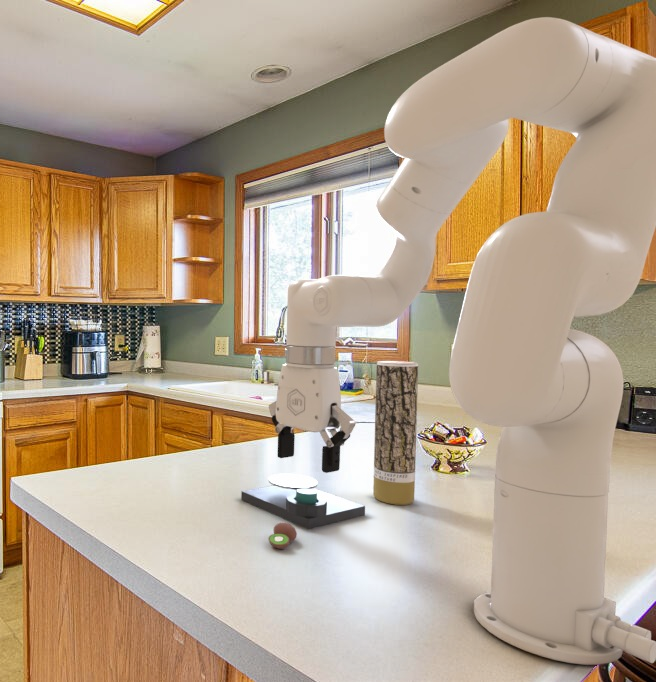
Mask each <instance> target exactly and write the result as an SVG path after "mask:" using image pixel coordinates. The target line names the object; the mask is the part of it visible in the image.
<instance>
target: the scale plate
mask: <svg viewBox="0 0 656 682" xmlns="http://www.w3.org/2000/svg"><path fill="white" fill-rule="evenodd" d="M268 483H269V484H270V485H271V486H273V485H274V486H277V487H281V488H286V489H294V490H297V489H301V488H306V489H312V488H315V489H316V488H317V486H318V481H317V480H316V479H315V478H313V477H310V476H305V475H302V474H293V473H279V474H273V475H270V476H269V477H268Z"/></svg>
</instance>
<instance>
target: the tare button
mask: <svg viewBox="0 0 656 682" xmlns="http://www.w3.org/2000/svg"><path fill="white" fill-rule="evenodd" d="M296 501H298V502H300V503H306V504H314V503H317V492H316V491H315V490H312V489H306V488H301V489H297V490H296Z"/></svg>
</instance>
